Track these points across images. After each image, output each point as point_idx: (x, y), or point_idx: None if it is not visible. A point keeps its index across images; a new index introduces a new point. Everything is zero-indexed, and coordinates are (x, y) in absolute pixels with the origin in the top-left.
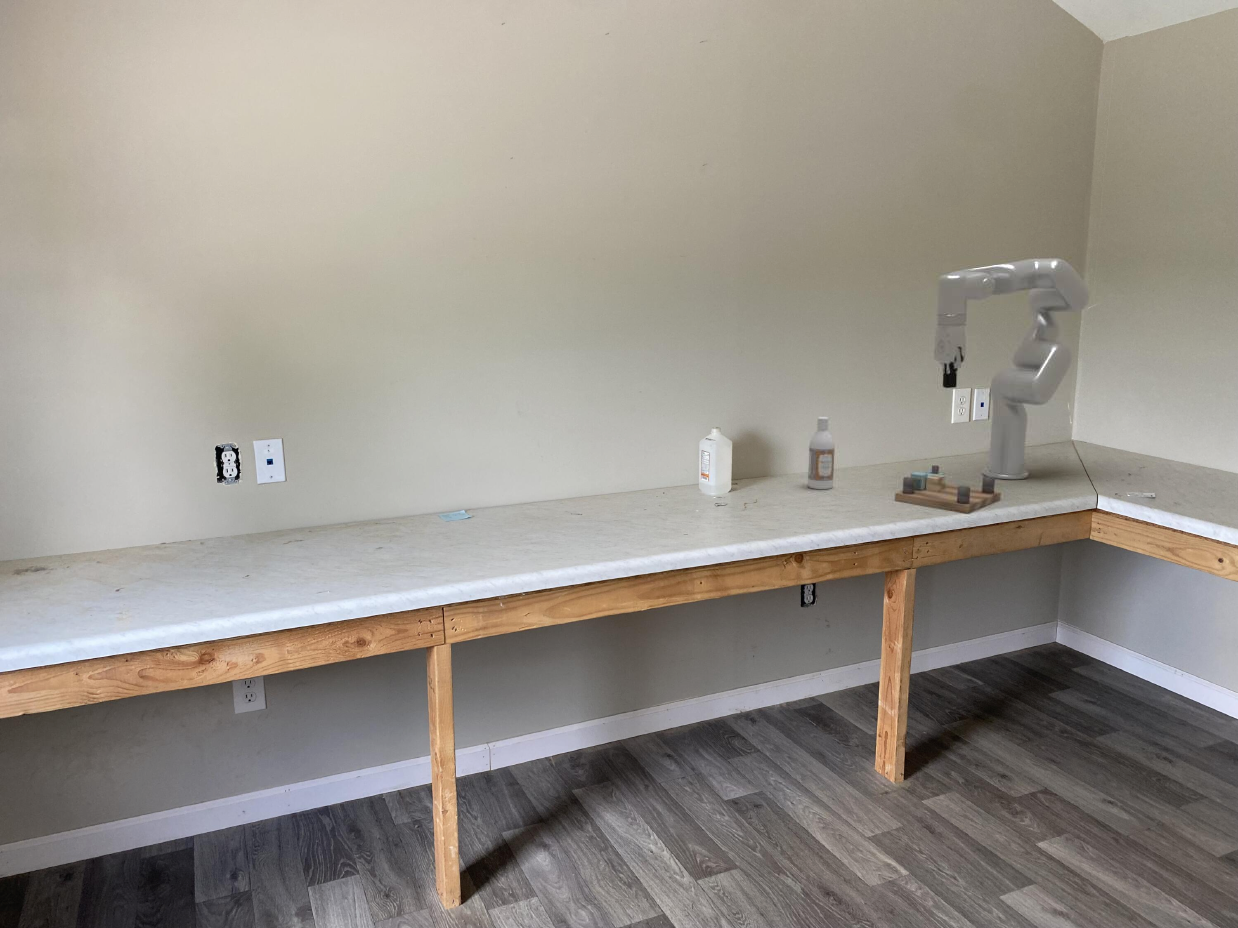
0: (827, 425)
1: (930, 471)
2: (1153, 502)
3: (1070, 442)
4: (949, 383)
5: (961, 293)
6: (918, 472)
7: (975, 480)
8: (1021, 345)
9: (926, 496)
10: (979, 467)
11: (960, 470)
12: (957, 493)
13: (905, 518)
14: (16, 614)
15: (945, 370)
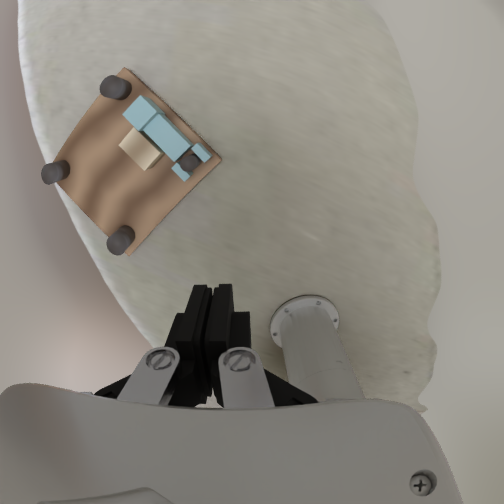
0: None
1: (204, 156)
2: None
3: (421, 410)
4: (176, 316)
5: None
6: (149, 113)
7: (276, 267)
8: None
9: (97, 117)
10: (365, 307)
11: (355, 272)
12: (55, 162)
13: (40, 78)
14: None
15: (219, 370)
